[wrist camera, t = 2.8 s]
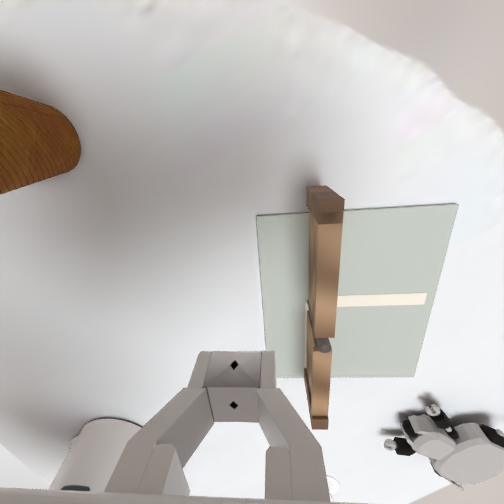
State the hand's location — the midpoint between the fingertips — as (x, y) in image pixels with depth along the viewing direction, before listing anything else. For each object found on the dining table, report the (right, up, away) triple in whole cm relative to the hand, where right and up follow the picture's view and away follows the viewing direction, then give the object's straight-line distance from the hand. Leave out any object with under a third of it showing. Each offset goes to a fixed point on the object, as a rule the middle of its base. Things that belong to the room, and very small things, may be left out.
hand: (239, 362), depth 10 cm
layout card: (+12, -2, +20) cm, 24 cm away
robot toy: (+30, -23, +29) cm, 48 cm away
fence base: (+8, -7, +22) cm, 25 cm away
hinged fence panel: (+7, +5, +16) cm, 18 cm away
